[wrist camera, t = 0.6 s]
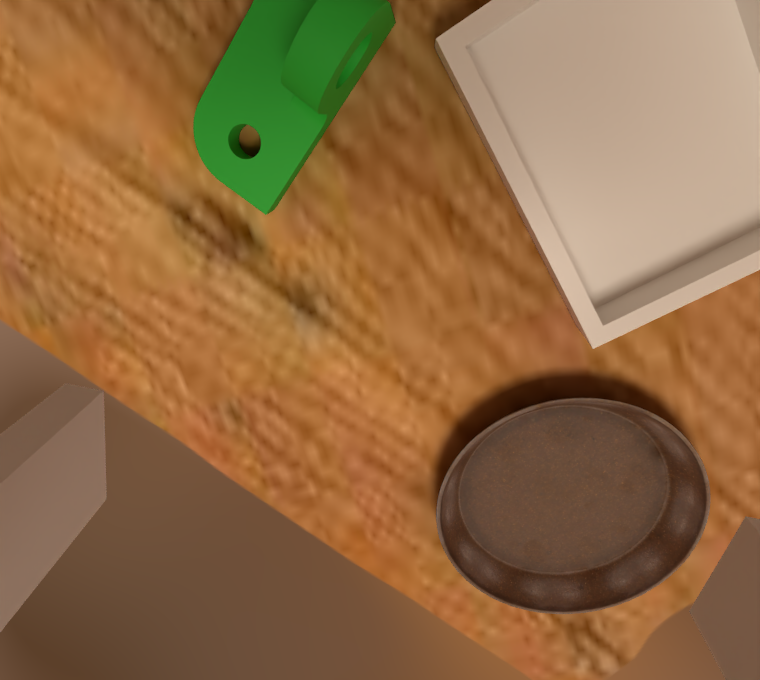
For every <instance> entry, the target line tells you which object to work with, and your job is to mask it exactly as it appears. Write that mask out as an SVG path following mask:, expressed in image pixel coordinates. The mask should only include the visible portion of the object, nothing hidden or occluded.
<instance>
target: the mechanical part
mask: <svg viewBox="0 0 760 680" xmlns="http://www.w3.org/2000/svg"><path fill="white" fill-rule="evenodd" d="M395 23H396V22H395V18H394V15H393V12H392V8H391V5H390V3H389V2H388V1H387V0H254V1H253V3H252V5H251V7H250V9H249V10H248V12H247V14H246V16H245V18H244V20H243V21H242V23H241V25H240V27H239V29H238V31H237V33H236V34H235V36H234V38H233V40H232V42H231V44H230V45H229V47H228V49H227V51H226V53H225V55H224V56H223V58H222V60H221V62H220V64H219V66H218V68H217V69H216V71H215V73H214V75H213V77H212V79H211V80H210V82H209V84H208V86H207V88H206V90H205V91H204V93H203V95H202V97H201V99H200V101H199V103H198V105H197V108H196V112H195V116H194V127H193V129H194V139H195V143H196V147H197V150H198V153H199V155H200V157H201V159H202V161H203V163H204V164H205V166H206V167H207V168H208V170H209V171H210V172H211V173H212V174H213V175H214V176H215V177H216V178H217V179H218V180H219V181H221V182H222V183H223V184H225V185H226V186H227V187H229V188H230V189H232V190H233V191H234V192H236V193H237V194H238V195H240V196H241V197H242V198H244V199H245V200H247V201H248V202H249V203H251V204H252V205H253V206H255V207H256V208H257V209H259V210H260V211H262V212H263V213H264V214H268V213H270V212H271V211H273V210H274V209H275V208H276V206H277V205H278V203H279V202H280V200H281V199H282V197H283V196H284V194H285V192H286V191H287V189H288V188H289V186H290V185H291V183H292V182H293V180H294V179H295V177H296V176H297V174H298V172H299V171H300V169H301V168H302V166H303V165H304V163H305V162H306V160H307V159H308V157H309V155H310V154H311V152H312V151H313V149H314V148H315V146H316V145H317V143H318V142H319V140H320V139H321V137H322V135H323V134H324V132H325V131H326V129H327V128H328V126H329V125H330V123H331V122H332V120H333V119H334V117H335V115H336V114H337V112H338V111H339V109H340V108H341V106H342V105H343V103H344V102H345V100H346V98H347V97H348V95H349V94H350V92H351V91H352V89H353V88H354V86H355V85H356V83H357V82H358V80H359V78H360V77H361V75H362V74H363V72H364V71H365V69H366V68H367V66H368V65H369V63H370V62H371V60H372V58H373V57H374V55H375V54H376V52H377V51H378V49H379V48H380V46H381V45H382V43H383V41H384V40H385V38H386V37H387V35H388V34H389V32H390V31H391V29H392V28H393V26H394V25H395ZM246 125H250V126H252V127H253V128H254V129H255V130H256V131H257V132H258V134H259V136H260V139H261V147H260V150H259V152H258V154H257V155H256V156H255V157H252V156H249V155H247V154H246V153H245V152H244V151H243V150H242V149H241V147H240V144H239V134H240V131H241V130H242V128H243V127H244V126H246Z"/></svg>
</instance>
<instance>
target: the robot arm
mask: <svg viewBox="0 0 760 680" xmlns="http://www.w3.org/2000/svg"><path fill="white" fill-rule="evenodd" d="M105 463H106V461H105V422H104V391H103V390H98V389H93V388H87V387H82V386H77V385H72V384H67V383H65V384H64V385H63V386H62V387H60V388H59V389H58V390H56V391H55V392H54V393H52V394H51V395H50V396H49V397H47V398H46V399H45V400H44V401H42V402H41V403H40V404H38V405H37V406H36V407H35V408H33V409H32V410H31V411H29V412H28V413H27V414H26V415H24V416H23V417H22V418H20V419H19V420H18V421H17V422H15V423H14V424H13V425H12V426H10V427H9V428H8V429H7V430H5V431H4V432H3V433H1V434H0V632H1V631H2V629H3V628H4V627H5V625H6V624H7V623H8V622H9V620H10V619H11V618H12V617H13V615H14V614H15V613H16V612H17V610H18V609H19V608H20V607H21V605H22V604H23V603H24V602H25V600H26V599H27V598H28V597H29V595H30V594H31V593H32V592H33V590H34V589H35V588H36V587H37V585H38V584H39V583H40V582H41V580H42V579H43V578H44V577H45V575H46V574H47V573H48V572H49V570H50V569H51V568H52V566H53V565H54V564H55V563H56V562H57V560H58V559H59V558H60V556H61V555H62V554H63V553H64V551H65V550H66V549H67V548H68V546H69V545H70V544H71V543H72V541H73V540H74V539H75V538H76V536H77V535H78V534H79V533H80V531H81V530H82V529H83V528H84V526H85V525H86V524H87V522H88V521H89V520H90V519H91V518H92V516H93V515H94V514H95V513H96V511H97V510H98V509H99V507H100V506H101V505H102V504H103V502H104V501H105V500H106V464H105ZM689 612H690V614H691V616H692V618H693V620H694V621H695V623H696V625H697V627H698V629H699V631H700V633H701V634H702V636H703V638H704V640H705V642H706V644H707V646H708V647H709V649H710V651H711V653H712V655H713V657H714V659H715V661H716V662H717V664H718V666H719V668H720V670H721V672H722V674H723V676H724V677H725V679H726V680H760V519H756V518H750V517H745V519H744V520H743V522H742V524H741V525H740V527H739V529H738V530H737V532H736V534H735V535H734V537H733V539H732V540H731V542H730V544H729V545H728V547H727V549H726V551H725V552H724V554H723V556H722V557H721V559H720V561H719V562H718V564H717V566H716V567H715V569H714V571H713V572H712V574H711V576H710V577H709V579H708V581H707V582H706V584H705V586H704V587H703V589H702V591H701V592H700V594H699V596H698V597H697V599H696V601H695V602H694V604H693V606H692V608H691V609H690V611H689Z"/></svg>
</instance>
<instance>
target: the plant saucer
mask: <svg viewBox="0 0 760 680" xmlns="http://www.w3.org/2000/svg"><path fill="white" fill-rule="evenodd" d="M709 508H710V487H709V481H708V476H707V473H706V470H705V467H704V465H703V462H702V460H701V458H700V457H699V455H698V453H697V452H696V450H695V449H694V447H693V446H692V444H691V443H690V442H689V441H688V439H687V438H686V437H685V436H684V435H683V434H682V433H681V432H680V431H679V430H678V429H676V428H675V427H674V426H673V425H672V424H670V423H669V422H667V421H666V420H664V419H663V418H661V417H659V416H657V415H656V414H654V413H652V412H649V411H647V410H645V409H643V408H640V407H637V406H634V405H631V404H627V403H624V402H619V401H614V400H607V399H600V398H563V399H555V400H549V401H545V402H541V403H537V404H533V405H530V406H527V407H524V408H522V409H519V410H517V411H514V412H512V413H510V414H508V415H506V416H504V417H502V418H500V419H499V420H497V421H495V422H494V423H492V424H491V425H489V426H488V427H487V428H485V429H484V430H483V431H481V432H480V433H479V434H478V435H477V436H475V437H474V438H473V439H472V440H471V441H470V442H469V443H468V444H467V445H466V446H465V447H464V449H463V450H462V451H461V452H460V453H459V454H458V456H457V457H456V458H455V460H454V461H453V463H452V464H451V466H450V468H449V470H448V471H447V473H446V475H445V477H444V480H443V482H442V485H441V488H440V492H439V496H438V500H437V509H436V521H437V529H438V534H439V538H440V541H441V544H442V546H443V549H444V551H445V553H446V555H447V557H448V558H449V560H450V561H451V563H452V564H453V566H454V567H455V568H456V570H457V571H458V572H459V573H460V574H461V575H462V576H463V577H464V578H465V579H466V580H467V581H468V582H469V583H470V584H472V585H473V586H474V587H476V588H477V589H478V590H480V591H481V592H483V593H485V594H487V595H488V596H490V597H492V598H494V599H496V600H498V601H500V602H502V603H505V604H508V605H510V606H513V607H516V608H520V609H524V610H529V611H534V612H540V613H552V614H574V613H585V612H592V611H597V610H602V609H605V608H609V607H613V606H616V605H619V604H622V603H624V602H627V601H630V600H631V599H634V598H636V597H638V596H641V595H643V594H644V593H646V592H647V591H649V590H651V589H652V588H654V587H656V586H657V585H659V584H660V583H662V582H663V581H664V580H666V579H667V578H668V577H669V576H670V575H671V574H673V573H674V572H675V571H676V570H677V569H678V568H679V567H680V566H681V565H682V564H683V563H684V562H685V561H686V559H687V558H688V557H689V556H690V554H691V552H692V551H693V550H694V548H695V547H696V545H697V543H698V542H699V540H700V538H701V536H702V534H703V531H704V529H705V525H706V523H707V519H708V515H709Z"/></svg>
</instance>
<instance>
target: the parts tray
mask: <svg viewBox="0 0 760 680" xmlns="http://www.w3.org/2000/svg"><path fill="white" fill-rule="evenodd" d="M434 48H435V50H436V52H437V54H438V56H439V58H440V59H441V61H442V63H443V65H444V67H445V69H446V71H447V73H448V75H449V77H450V79H451V81H452V83H453V85H454V87H455V89H456V91H457V93H458V95H459V97H460V99H461V101H462V103H463V105H464V107H465V108H466V110H467V112H468V114H469V116H470V118H471V120H472V122H473V124H474V126H475V128H476V130H477V132H478V134H479V136H480V138H481V140H482V142H483V144H484V146H485V148H486V150H487V152H488V154H489V155H490V157H491V159H492V161H493V163H494V165H495V167H496V169H497V171H498V173H499V175H500V177H501V179H502V181H503V183H504V185H505V187H506V189H507V191H508V193H509V195H510V197H511V199H512V201H513V203H514V204H515V206H516V208H517V210H518V212H519V214H520V216H521V218H522V220H523V222H524V224H525V226H526V228H527V230H528V232H529V234H530V236H531V238H532V240H533V242H534V244H535V246H536V248H537V250H538V252H539V253H540V255H541V257H542V259H543V261H544V263H545V265H546V267H547V269H548V271H549V273H550V275H551V277H552V279H553V281H554V283H555V285H556V287H557V289H558V291H559V293H560V295H561V297H562V299H563V300H564V302H565V304H566V306H567V308H568V310H569V312H570V314H571V316H572V318H573V320H574V322H575V324H576V326H577V327H578V329H579V330H580V332H581V333H582V334H583V336H584V337H585V338H586V340H587V341H588V343H589V344H590V345H591V347H592V348H593V349H594V348H596V347H598V346H600V345H602V344H604V343H606V342H608V341H611V340H613V339H615V338H617V337H619V336H621V335H623V334H625V333H627V332H629V331H632V330H634V329H636V328H638V327H640V326H642V325H644V324H646V323H648V322H651V321H653V320H655V319H657V318H659V317H661V316H663V315H665V314H667V313H669V312H672V311H674V310H676V309H678V308H680V307H682V306H684V305H686V304H688V303H691V302H693V301H695V300H697V299H699V298H701V297H703V296H705V295H707V294H709V293H712V292H714V291H716V290H718V289H720V288H722V287H724V286H726V285H728V284H731V283H733V282H735V281H737V280H739V279H741V278H743V277H745V276H747V275H749V274H752V273H754V272H756V271H758V270H760V0H491V1H490V2H488V3H487V4H485V5H484V6H482V7H481V8H480V9H478V10H477V11H475V12H474V13H472V14H471V15H469V16H468V17H466V18H465V19H464V20H462V21H461V22H459V23H458V24H456V25H455V26H453V27H452V28H450V29H449V30H447V31H446V32H445V33H443V34H442V35H440V36H439V37H437V38H436V40H435V47H434Z"/></svg>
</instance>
